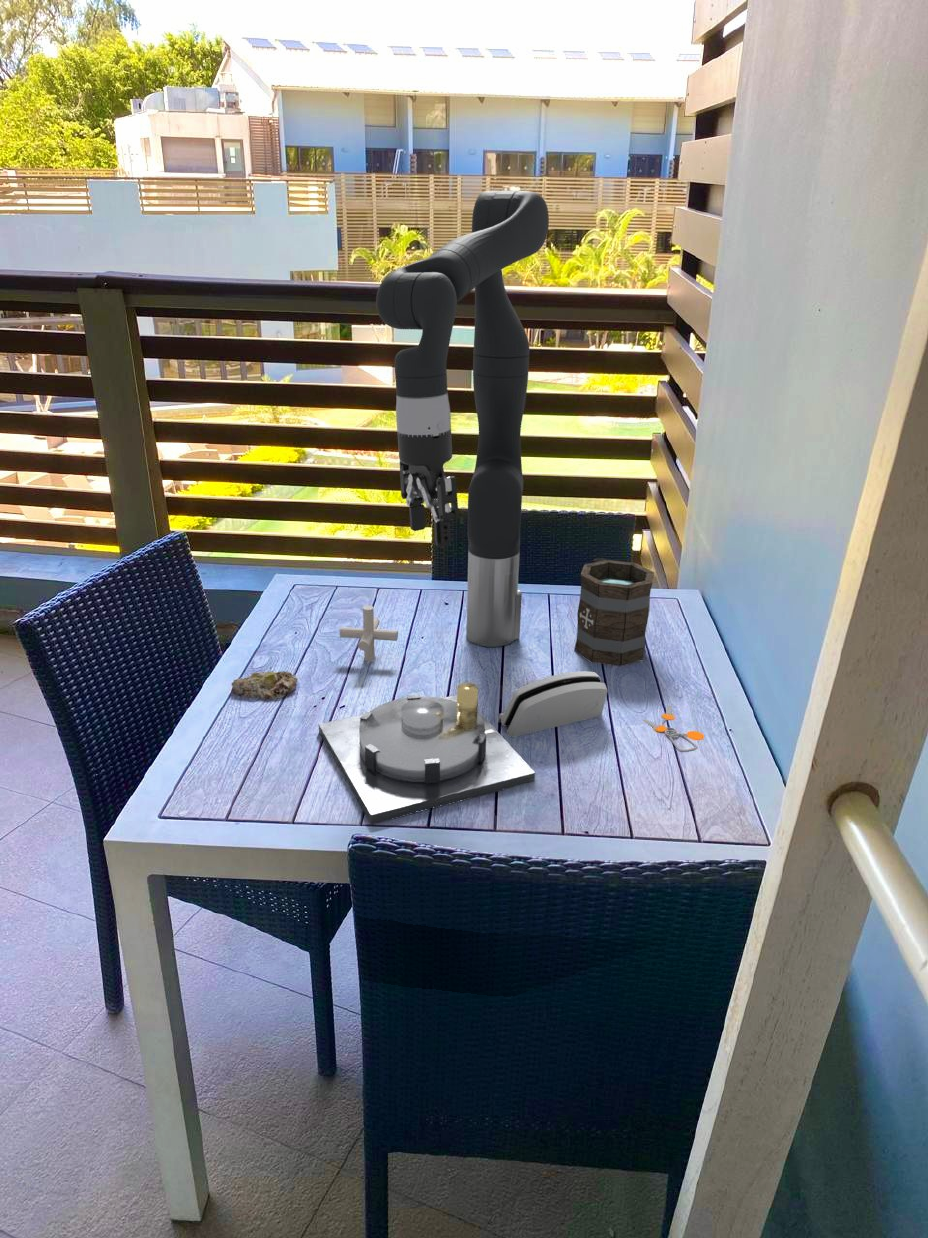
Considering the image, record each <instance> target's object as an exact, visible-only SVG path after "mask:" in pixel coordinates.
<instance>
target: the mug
mask: <svg viewBox="0 0 928 1238" xmlns="http://www.w3.org/2000/svg"><path fill="white" fill-rule="evenodd" d="M654 576H655V572H654V571H652V570H650V569H648V568H646V567H645V566H643V565H640V564H638V563H636V562H632V561H631V562H629V561H622V560H613V559H612V560H611V559H606V558H605V557H597V558H594V559H593V560H592V562H591V563H590V562H589V563H585V564H583V568H582V570H581V573H580V592H579V593H580V594H579V602H578V606H577V629H576V630H577V631H576V632H577V633H576V640H575V646H574V649H573V651H574V652H575V653H577V654H578V655H580V656H581V657H582V658H584V659H586V660H587V661H589V662H591V663H593V664H601V665H609V666H615V667H616V666H617V667H623V666H626V665H627V666H628V665H630V664H634V663H638V662H641V661H643V660H644V656H645V651H646V632H647V625H648V620H649V616H650V609H651V607H650V601H651V600H650V599H651V591H652V585H653V582H654Z"/></svg>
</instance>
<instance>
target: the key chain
mask: <svg viewBox="0 0 928 1238" xmlns="http://www.w3.org/2000/svg"><path fill="white" fill-rule="evenodd" d="M673 711H674V710H673V706H672V705H666V711H665V713H662V714H661V718H662V719H664V720H663V721H662V722H661V724H656V723H655V722H652V721H650V720H648V719H646V718H643V720H642V721H643V722H644V723H645V724H647V726H651V728H652V729H653V731H655V732H657V733H664V734H665V736H666V737H668V738H669V740H670V741H671V744H673V745H674V747H675V749H678V750H677V751H678V752H682V753H683V752H685V753H686V752H692V751H695V750H696V749H698V748H699V747H698V745H697V744H695V743H694V742H693V741H703V740H704V739H705V735H704V734H703V733H702V732H700V731H695V730H689V731H688V732H686V733H683V732H677V730H676V728H675V727H668V726H665V722H667V721H672V720H675V718H676V716H675V715H674V713H673ZM675 738H676V739H679V738H681V739H683V738H684V739H686V740H687V741H688V742H689V743H691V744H692V745H693V747H691V748H687V749H681V748H680V747H679V745H678V744H677V743H676V742H675ZM690 739H691V740H693V741H691V740H690Z"/></svg>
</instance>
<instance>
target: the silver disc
mask: <svg viewBox="0 0 928 1238" xmlns="http://www.w3.org/2000/svg"><path fill="white" fill-rule="evenodd" d="M456 691H457V692H456V695H457V702H455V701H452V700H448V699H444V698H445V697H437V696H421V694H407V695H406V697H402V698H398V699H393V700H390V701H387V702H385V703H382V704H381V705H377V706H376V707H374V708H373V709H371V710H370V711H368V710H367V711H365V712H364V713H363V714H361V715H362V716H361V718H360V727H359V738H360V753H361V756H362V758H363V760H364V761H365V766H366V767H368V768H369V769H370V770H372V771H373V772H375V771H377V772H378V773H380V774H382V775H385V776H388V777H390V778H394V779H398V780H403V781H410V782H425V784H426V783H437V782H440V780H445V779H449V778H453V777H456V776H458V775H461V774H463V773H465V772H467V771H468V770H470V769H471V768H473V767H474V766H475V765H476V764H477V763H478V762H482V760H483V758H484V757H485V755H486V735H485V726H484V722H483V720H482V719H481V717H480V716H479V715H478V714H477V713H478V711H479V709H478V708H479V705H478V704H479V686H478V685H477V684H475V683H473V682H461V683H460V684H458V685H457V687H456Z"/></svg>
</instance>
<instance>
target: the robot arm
mask: <svg viewBox="0 0 928 1238" xmlns="http://www.w3.org/2000/svg"><path fill="white" fill-rule="evenodd" d="M547 205H548V204H547V202H546V201H545V199H544V197H542V195H540V194H539V193H537V192H536V191H535V192H534V191H529V190H486V191H482V192H481V193H480V194H479V195H478V196H477V198H476V200H475V203H474V206H473V210H472V215H471V216H472V218H471V232H470V233H467V234H464V235H462V236H459V237H456V238H453V239H452V240H450V241H448V242H447V243H446V244H444V245H443V246H441V247H440V248H439V249H437V250H436V251H434V252H433V253H432V254H431V255H430V256H428V257H426V258H424V259H421V260H417V261H414V262H412V263H409V264H407V265H404V266H402V267H399V268H397V269H395V270H393V271H391V272H390V273H389V274H387V276H386V277H385V278H383V279H382V281H381V283H380V284H379V287H378V290H377V291H376V296H375V307H376V311H377V314H378V316H379V318H380V319H381V321H382V322H383V323H384V324H386V326H388V327H390V328H393V329H397V330H422V334H421V338H420V341H419V343H418V345H416V346H412V347H407V348H405V349H401V350H400V351H398V352H397V353H396V355H395V357H394V375H395V391H396V405H395V417H396V418H395V419H396V420H395V421H396V430H397V431H396V432H397V445H398V448H397V449H398V459H399V477H400V496H401V499H402V500H405V503H406V505H407V506H408V509H409V510H408V511H409V525H410V529H411V530H412V531H414V532H416V531H417V532H418V531H421V530H425V528H426V526H427V525H426V510H425V506H426V509H429V510H430V511H431V514H432V517H433V520H434V522H433V528H434V543H435V546H437V547H438V548H443V547H448V546H450V545H451V544H452V533H451V531H452V529H451V521H452V520H457V519H459V515H460V514H459V505H458V504H459V503H458V491H457V487H458V486H457V479H456V476H454V475H453V476H452V475H451V476H446V473H445V470H444V465H445V464H446V463H447V462H449V461H450V460H452V457H453V443H452V442H453V441H452V420H451V416H452V415H451V407H450V406H451V405H450V400H449V393H448V375H447V374H448V373H447V370H448V369H447V361H448V360H447V359H448V355H449V354H448V353H449V348H450V343H451V337H452V333H453V327H454V324H455V323H454V322H455V319H456V314H457V308H458V302H460V301H461V300H463V299H464V298H465V297H466V296H467V295H468V294H469V293H470V292H472V291H473V290H474V333H473V334H474V335H473V336H474V338H473V357H472V359H473V361H472V363H473V364H472V379H473V380H472V381H473V395H474V397H473V398H474V403H475V404H474V405H475V410H476V415H477V416H476V417H477V423H478V439H477V440H478V442H477V452H476V459H475V460H476V461H475V466H474V471H473V475H472V477H471V481H470V484H469V486H468V494H467V495H468V496H467V539H468V542H467V543H468V546H467V547H468V551H467V552H468V553H467V554H468V555H467V557H468V558H467V592H466V593H467V595H466V596H467V598H466V599H467V600H466V601H467V602H466V625H465V626H466V627H465V629H466V633H465V634H466V635H465V636H466V639H467V640H468V641H470V643H472V644H474V645H478V646H481V647H490V648H496V647H504V646H507V645H509V644H511V643H513V642H514V641H515V640H520V635H521V619H522V618H521V617H522V616H521V615H522V599H523V593H522V591H521V590H520V589H519V588H518V587H519V571H520V570H519V569H520V551H521V550H520V549H521V548H520V547H521V521H522V506H523V505H522V503H523V501H522V500H523V491H524V477H523V468H522V450H521V446H522V445H521V429H522V422H523V417H524V411H525V406H526V399H527V391H528V381H529V366H530V342H529V338H528V336H527V333H526V330H525V328H524V326H523V324H522V321H521V320H520V318H519V316H518V314H517V312H516V310H515V309H514V306H513V305H512V302H511V300H510V299H509V296H508V293H507V291H506V288H505V282H504V275H503V269H505V268H508V267H509V266H511V265H513V264H515V263H517V262H518V261H520V260H523V259H526V258H528V257H532V255H534V254H535V255H536V254H537V253H538V252H539V251H540V250H541V248H542V247H543V245H544V244H545V241H546V240H547V236H548V231H549V223H550V221H549V219H550V217H549V216H550V215H549V211H548V210H549V209H548V206H547Z"/></svg>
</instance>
